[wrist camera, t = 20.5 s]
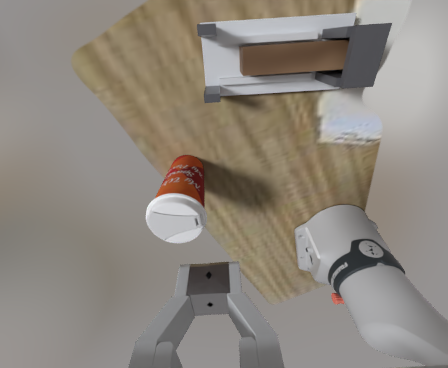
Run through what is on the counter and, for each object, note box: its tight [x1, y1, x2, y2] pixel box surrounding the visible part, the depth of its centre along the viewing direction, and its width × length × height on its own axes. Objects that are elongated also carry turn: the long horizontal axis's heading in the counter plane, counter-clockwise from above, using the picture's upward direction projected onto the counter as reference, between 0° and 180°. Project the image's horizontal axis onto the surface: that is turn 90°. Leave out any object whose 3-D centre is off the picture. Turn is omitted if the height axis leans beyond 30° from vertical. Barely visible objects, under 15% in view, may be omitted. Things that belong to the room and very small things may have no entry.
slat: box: [239, 39, 350, 76], centre depth 28 cm, size 3×14×5 cm, turn 93°
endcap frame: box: [197, 13, 392, 103], centre depth 28 cm, size 9×20×9 cm, turn 93°
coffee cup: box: [146, 155, 207, 243], centre depth 35 cm, size 8×8×15 cm
